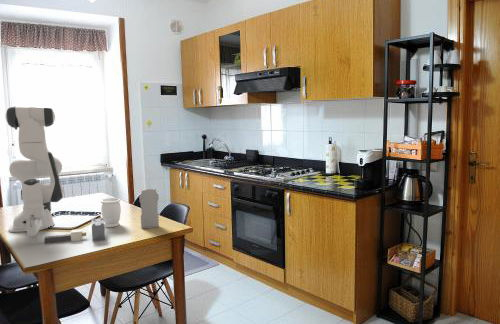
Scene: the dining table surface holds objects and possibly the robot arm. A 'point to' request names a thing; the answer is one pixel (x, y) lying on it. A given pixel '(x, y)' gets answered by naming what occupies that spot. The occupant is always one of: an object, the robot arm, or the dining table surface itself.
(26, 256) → the dining table surface
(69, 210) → the dining table surface
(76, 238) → the plug
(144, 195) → the tall pale column
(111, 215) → the jar
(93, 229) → the block
